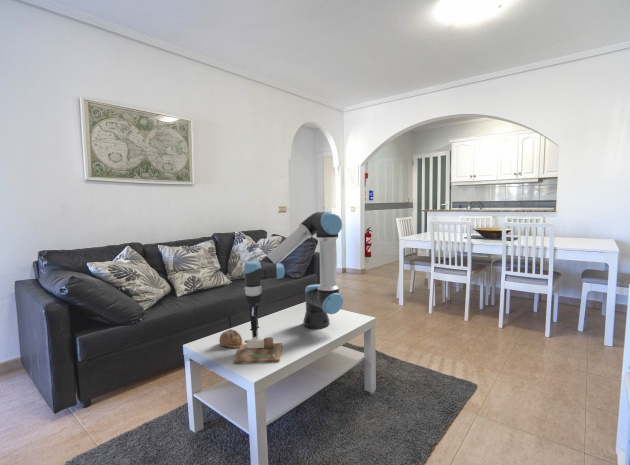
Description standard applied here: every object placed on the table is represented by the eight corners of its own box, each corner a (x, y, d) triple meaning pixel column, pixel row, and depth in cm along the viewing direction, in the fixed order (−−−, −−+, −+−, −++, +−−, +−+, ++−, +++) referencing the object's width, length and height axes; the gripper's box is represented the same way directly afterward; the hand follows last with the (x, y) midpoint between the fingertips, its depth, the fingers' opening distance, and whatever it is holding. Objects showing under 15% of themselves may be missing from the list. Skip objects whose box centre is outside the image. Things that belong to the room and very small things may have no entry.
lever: (273, 345, 159) (273, 337, 159) (272, 348, 155) (272, 340, 155) (246, 346, 159) (245, 338, 159) (244, 350, 154) (244, 341, 154)
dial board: (282, 345, 162) (282, 342, 162) (279, 362, 144) (279, 358, 144) (241, 347, 162) (241, 344, 162) (233, 364, 144) (233, 360, 144)
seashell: (222, 350, 157) (219, 329, 161) (220, 353, 164) (217, 333, 168) (244, 345, 161) (240, 325, 165) (241, 349, 168) (238, 329, 173)
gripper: (247, 291, 163) (249, 337, 165) (243, 298, 150) (245, 348, 152) (262, 290, 164) (264, 337, 165) (260, 297, 151) (262, 347, 152)
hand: (255, 342), depth 158 cm, fingers closed
